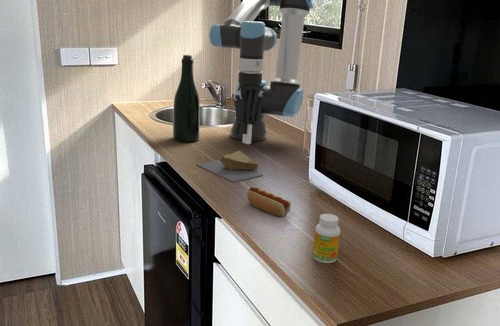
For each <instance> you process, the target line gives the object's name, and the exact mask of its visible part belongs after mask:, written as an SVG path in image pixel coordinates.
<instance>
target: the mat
mask: <svg viewBox="0 0 500 326" xmlns="http://www.w3.org/2000/svg"><path fill="white" fill-rule="evenodd" d="M220 160H221V159H218V160H217V159H216V160H212V161H207V162H206V161H205V162H202V163H197V164H196V166H198V167H200V168H202V169H204V170H206V171H208V172H211V173H213V174H215V175H216V176H219V177H221V178H223V179H226V180H227V181H230V182H232V183H239V182H242V181H246V180H251V179H255V178H259V177H263V176H264V174H261V173H259V172H257V171H256V170H244V169H241V170H233V171H232V170H230V169H228V168H227V167H225V166H224V165H223V164H222V162H221V161H220Z"/></svg>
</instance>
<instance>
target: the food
mask: <svg viewBox="0 0 500 326" xmlns="http://www.w3.org/2000/svg"><path fill="white" fill-rule="evenodd" d="M246 198H247V201H248V202H249V203H250V204H251V205H252V206H254V207H255V208H257V209H259V210H261V211H263V212H265V213H268V214H270V215H274V216H277V217H284V216H287V215H288V213H289V212H290V211H291V205H292V203H291V202H290V201H289V200H287V199H284V198H283V197H281V196H278V195H275V194H273V193H271V192H268V191H267V190H262V189H260V188H259V187H257V186H256V187H254V186H251V187H250V188H249V189H248V190H247V191H246Z"/></svg>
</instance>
